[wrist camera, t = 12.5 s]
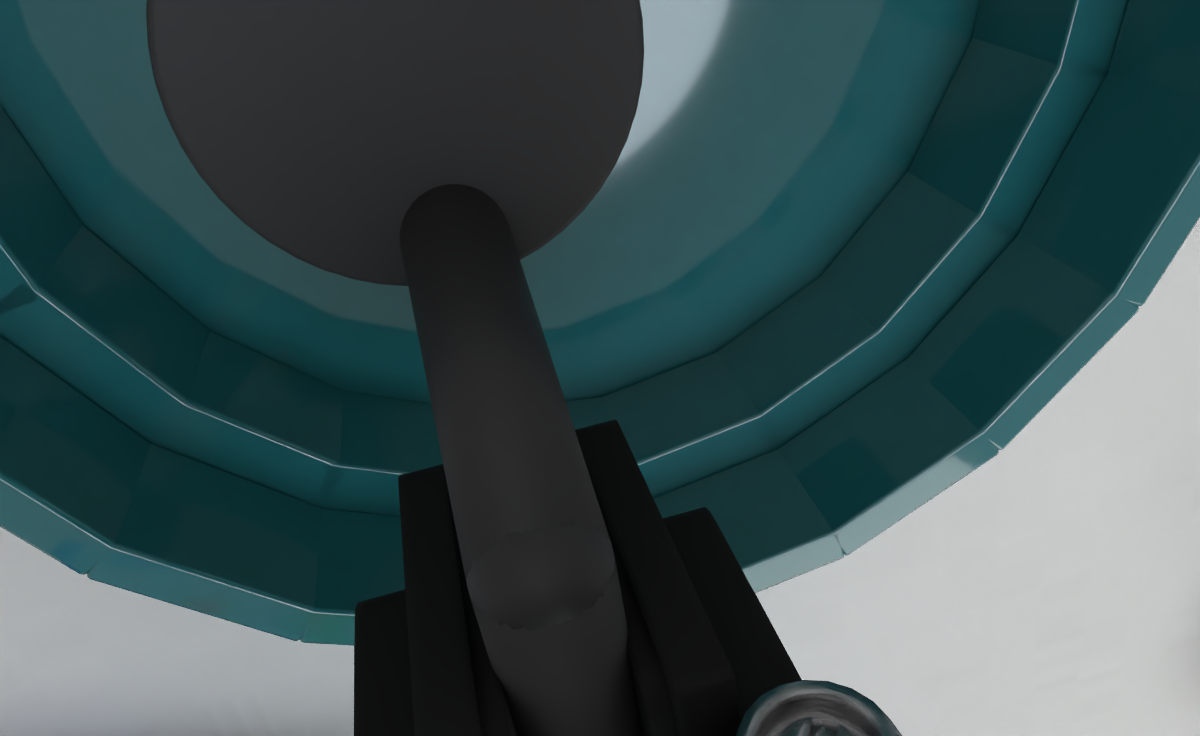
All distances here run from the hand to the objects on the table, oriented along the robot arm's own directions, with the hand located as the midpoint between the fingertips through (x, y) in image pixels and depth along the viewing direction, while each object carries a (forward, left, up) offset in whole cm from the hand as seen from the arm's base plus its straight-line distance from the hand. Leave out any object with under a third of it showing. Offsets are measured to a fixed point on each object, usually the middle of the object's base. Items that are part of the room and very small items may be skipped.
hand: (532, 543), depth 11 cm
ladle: (+2, +2, -3) cm, 4 cm away
